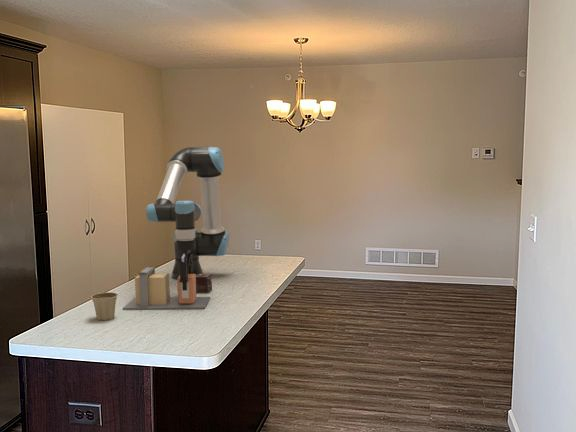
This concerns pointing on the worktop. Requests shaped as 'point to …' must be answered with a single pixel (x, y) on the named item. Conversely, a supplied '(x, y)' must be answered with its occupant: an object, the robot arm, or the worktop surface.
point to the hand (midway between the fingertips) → (187, 295)
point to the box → (203, 283)
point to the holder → (158, 294)
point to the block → (191, 289)
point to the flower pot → (104, 305)
